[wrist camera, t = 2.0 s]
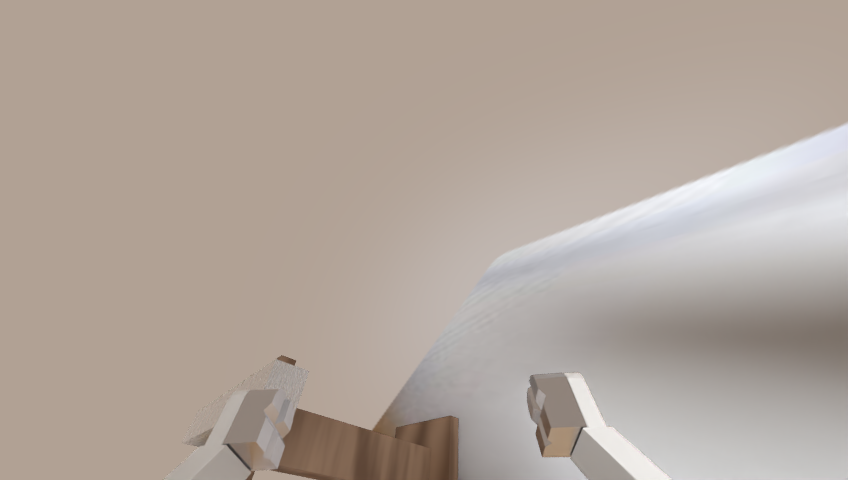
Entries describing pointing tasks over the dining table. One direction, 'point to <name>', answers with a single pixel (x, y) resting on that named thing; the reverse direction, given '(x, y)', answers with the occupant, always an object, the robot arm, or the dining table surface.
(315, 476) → the walnut stand
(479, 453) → the dining table surface
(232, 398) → the robot arm
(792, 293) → the dining table surface
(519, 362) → the dining table surface
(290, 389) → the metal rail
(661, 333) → the dining table surface
